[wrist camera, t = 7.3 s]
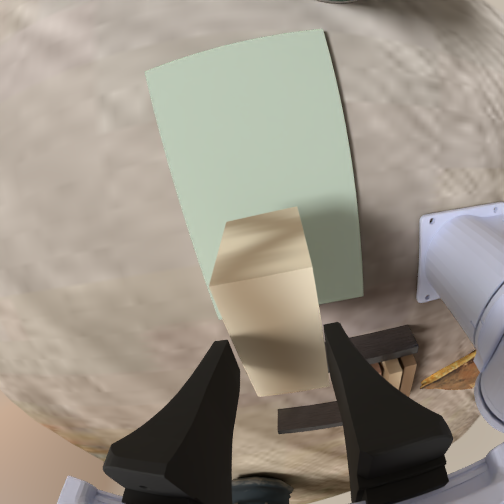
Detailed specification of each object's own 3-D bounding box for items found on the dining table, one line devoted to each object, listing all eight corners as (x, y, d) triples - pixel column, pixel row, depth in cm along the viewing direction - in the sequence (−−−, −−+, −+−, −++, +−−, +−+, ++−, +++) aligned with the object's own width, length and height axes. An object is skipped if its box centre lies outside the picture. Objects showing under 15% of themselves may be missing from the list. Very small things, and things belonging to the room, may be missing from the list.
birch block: (297, 206, 16) (312, 266, 11) (317, 314, 20) (329, 386, 15) (226, 221, 17) (208, 286, 11) (260, 324, 20) (258, 396, 15)
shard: (416, 379, 28) (420, 391, 27) (452, 330, 25) (459, 341, 24) (469, 382, 29) (474, 391, 27) (502, 340, 26) (509, 349, 24)
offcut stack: (403, 333, 25) (419, 366, 21) (395, 385, 28) (405, 416, 24) (360, 343, 26) (371, 378, 21) (358, 394, 29) (366, 426, 25)
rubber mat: (321, 30, 15) (322, 28, 14) (362, 293, 23) (363, 295, 23) (146, 72, 17) (144, 71, 16) (219, 316, 25) (218, 319, 24)
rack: (407, 324, 24) (418, 346, 22) (397, 391, 29) (403, 411, 26) (260, 352, 26) (258, 376, 24) (279, 413, 31) (278, 434, 28)
